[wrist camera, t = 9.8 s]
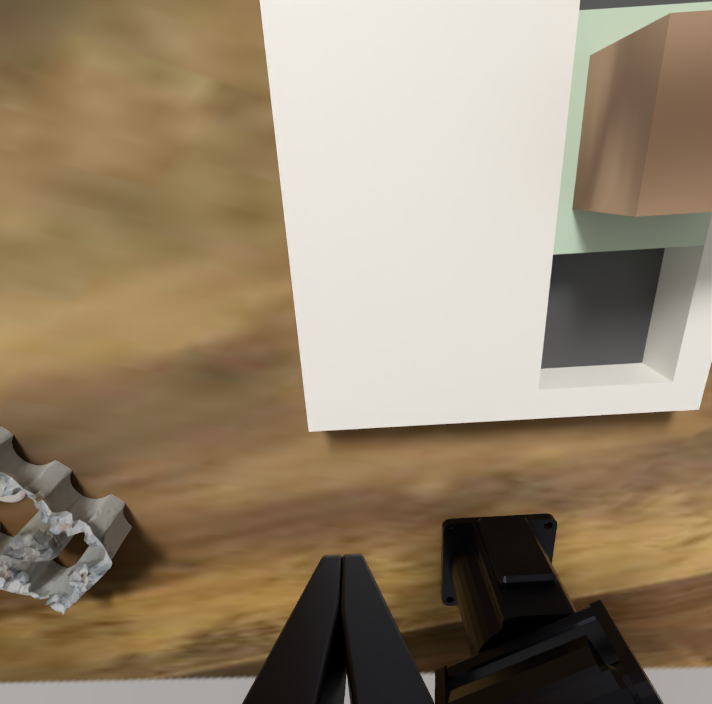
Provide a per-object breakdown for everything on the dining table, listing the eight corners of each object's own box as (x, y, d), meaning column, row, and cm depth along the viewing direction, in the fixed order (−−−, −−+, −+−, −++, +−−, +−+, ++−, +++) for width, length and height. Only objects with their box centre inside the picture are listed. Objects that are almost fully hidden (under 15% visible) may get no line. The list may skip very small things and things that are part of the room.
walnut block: (703, 200, 17) (805, 205, 13) (572, 208, 17) (636, 216, 13) (737, 45, 15) (868, -2, 11) (589, 55, 15) (670, 12, 11)
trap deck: (662, 385, 22) (698, 409, 20) (313, 405, 22) (308, 431, 20) (806, -262, 14) (898, -352, 12) (246, -222, 14) (225, -302, 12)
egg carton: (-82, 481, 24) (-163, 537, 20) (-15, 397, 22) (-91, 441, 19) (82, 581, 27) (37, 647, 23) (154, 514, 25) (118, 573, 21)
